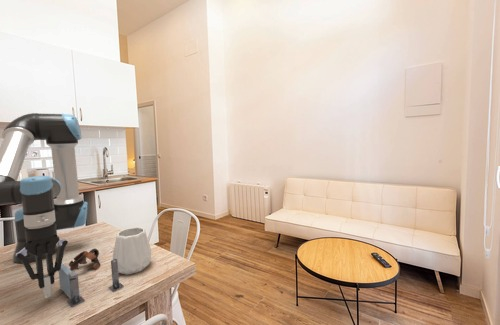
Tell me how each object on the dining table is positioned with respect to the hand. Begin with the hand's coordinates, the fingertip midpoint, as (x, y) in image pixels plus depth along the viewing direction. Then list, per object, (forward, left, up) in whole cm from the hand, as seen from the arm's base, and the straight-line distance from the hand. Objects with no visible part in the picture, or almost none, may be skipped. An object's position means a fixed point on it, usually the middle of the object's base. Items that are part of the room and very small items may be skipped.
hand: (47, 294), depth 78 cm
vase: (+3, +27, -2) cm, 27 cm away
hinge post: (+9, +5, -2) cm, 10 cm away
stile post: (+11, +16, -2) cm, 20 cm away
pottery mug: (-13, +16, -2) cm, 21 cm away
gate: (+2, +5, -1) cm, 6 cm away
